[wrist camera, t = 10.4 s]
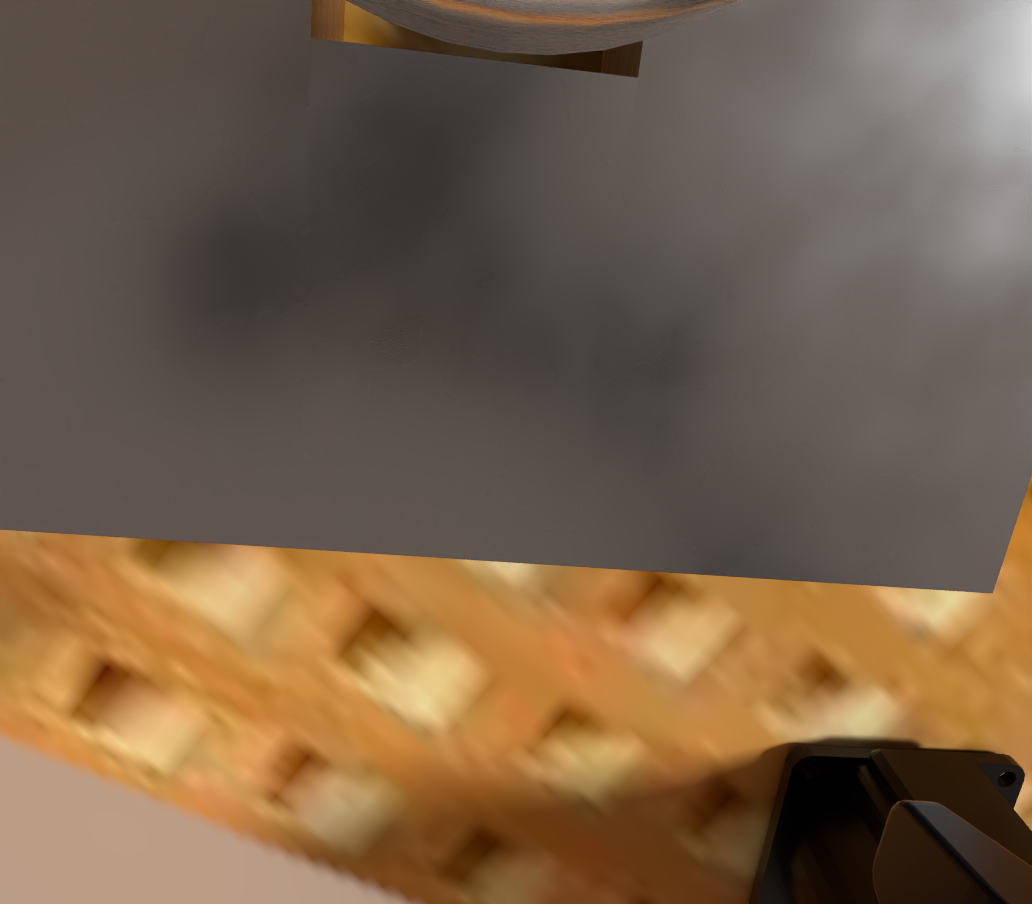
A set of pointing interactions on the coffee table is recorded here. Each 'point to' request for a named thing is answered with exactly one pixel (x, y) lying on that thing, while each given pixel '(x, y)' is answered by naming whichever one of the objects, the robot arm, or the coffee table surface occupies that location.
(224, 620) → the coffee table surface
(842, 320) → the bore block
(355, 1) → the end cover
